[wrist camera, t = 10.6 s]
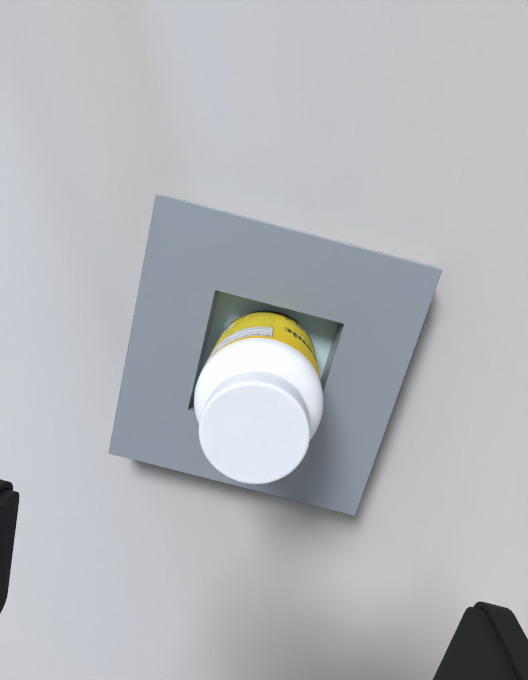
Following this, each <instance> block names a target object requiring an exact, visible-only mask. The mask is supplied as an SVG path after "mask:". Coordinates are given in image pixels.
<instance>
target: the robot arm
mask: <svg viewBox="0 0 528 680" xmlns="http://www.w3.org/2000/svg"><path fill="white" fill-rule="evenodd" d="M18 505H19V493H18V492H16V491H13V485H12V483H11V482H8V481H4V480H0V613H1V611H2V609H3V607H4V604H5V602H6V599H7V594H8V586H9V578H10V569H11V561H12V553H13V545H14V537H15V529H16V521H17V513H18ZM433 680H528V639H527V637H526V635H525V634H524V632H523V630H522V628H521V626H520V624H519V623H518V621H517V619H516V617H515V615H514V614H513V613H512V611H511V610H509V609H508V608H505V607H501V606H497V605H493V604H489V603H485V602H478V603H476V604H475V606H474V607H469V608H467V609H466V611H465V613H464V615H463V617H462V619H461V621H460V623H459V625H458V627H457V630H456V632H455V634H454V636H453V638H452V640H451V642H450V644H449V647H448V649H447V651H446V653H445V655H444V657H443V659H442V661H441V664H440V666H439V668H438V670H437V672H436V674H435V676H434V678H433Z"/></svg>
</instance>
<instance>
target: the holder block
mask: <svg viewBox="0 0 528 680" xmlns="http://www.w3.org/2000/svg"><path fill="white" fill-rule="evenodd" d="M441 272H442V270H441V269H438V268H436V267H433V266H430V265H428V264H424V263H420V262H416V261H413V260H409V259H405V258H401V257H397V256H394V255H390V254H386V253H382V252H378V251H375V250H371V249H367V248H363V247H359V246H356V245H352V244H348V243H344V242H341V241H337V240H333V239H329V238H325V237H322V236H318V235H314V234H310V233H306V232H303V231H299V230H295V229H291V228H287V227H284V226H280V225H276V224H272V223H268V222H265V221H261V220H257V219H253V218H250V217H246V216H242V215H238V214H234V213H231V212H227V211H223V210H219V209H215V208H212V207H208V206H204V205H200V204H196V203H193V202H189V201H185V200H181V199H177V198H174V197H170V196H163V195H156V197H155V203H154V208H153V214H152V219H151V225H150V230H149V235H148V241H147V246H146V252H145V257H144V263H143V268H142V274H141V279H140V284H139V290H138V295H137V301H136V306H135V312H134V317H133V323H132V328H131V334H130V339H129V344H128V350H127V355H126V361H125V366H124V372H123V377H122V383H121V388H120V393H119V399H118V404H117V410H116V415H115V421H114V426H113V432H112V437H111V442H110V448H109V454H113V455H117V456H121V457H125V458H129V459H133V460H137V461H141V462H145V463H148V464H152V465H156V466H160V467H164V468H168V469H172V470H176V471H180V472H184V473H188V474H192V475H196V476H200V477H204V478H208V479H212V480H216V481H220V482H223V483H227V484H231V485H235V486H239V487H243V488H247V489H251V490H255V491H259V492H263V493H267V494H271V495H275V496H279V497H283V498H287V499H291V500H295V501H298V502H302V503H306V504H310V505H314V506H318V507H322V508H326V509H330V510H334V511H338V512H342V513H346V514H350V515H354V516H355V514H356V511H357V508H358V505H359V503H360V500H361V497H362V494H363V491H364V488H365V486H366V483H367V480H368V477H369V474H370V472H371V469H372V466H373V463H374V460H375V458H376V455H377V452H378V449H379V446H380V444H381V441H382V438H383V435H384V432H385V430H386V427H387V424H388V421H389V418H390V416H391V413H392V410H393V407H394V404H395V402H396V399H397V396H398V393H399V390H400V388H401V385H402V382H403V379H404V376H405V373H406V371H407V368H408V365H409V362H410V359H411V357H412V354H413V351H414V348H415V345H416V343H417V340H418V337H419V334H420V331H421V329H422V326H423V323H424V320H425V317H426V315H427V312H428V309H429V306H430V303H431V301H432V298H433V295H434V292H435V289H436V287H437V284H438V281H439V278H440V275H441ZM257 310H274V311H278V312H282V313H284V314H287V315H289V316H291V317H292V318H294V319H295V320H296V321H298V322H299V323H300V324H301V325H302V326H303V327H304V328H305V330H306V331H307V333H308V334H309V336H310V338H311V340H312V343H313V346H314V350H315V354H316V360H317V364H318V370H319V375H320V380H321V384H322V390H323V413H322V417H321V421H320V423H319V426H318V428H317V430H316V432H315V434H314V435H313V437H312V438H311V440H310V441H309V446H308V449H307V452H306V454H305V456H304V458H303V460H302V461H301V462H300V464H299V465H298V466H297V467H296V468H295V469H294V470H293V471H292V472H291V473H289V474H288V475H286V476H285V477H283V478H281V479H279V480H276V481H273V482H269V483H264V484H248V483H242V482H238V481H236V480H233V479H231V478H229V477H227V476H225V475H223V474H222V473H221V472H219V471H218V470H217V469H216V468H215V467H214V466H213V465H212V464H211V463H210V462H209V460H208V459H207V457H206V456H205V454H204V452H203V450H202V447H201V444H200V439H199V423H198V421H197V418H196V414H195V408H194V394H195V388H196V384H197V381H198V378H199V376H200V374H201V371H202V370H203V368H204V366H205V364H206V362H207V360H208V358H209V356H210V355H211V353H212V351H213V349H214V348H215V346H216V344H217V342H218V340H219V338H220V336H221V335H222V333H223V332H224V330H225V329H226V328H227V327H228V326H229V325H230V324H231V323H232V322H233V321H234V320H235V319H237V318H238V317H240V316H242V315H244V314H246V313H249V312H252V311H257Z"/></svg>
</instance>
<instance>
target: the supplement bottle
mask: <svg viewBox="0 0 528 680" xmlns="http://www.w3.org/2000/svg"><path fill="white" fill-rule="evenodd" d="M194 408H195V414H196V418H197V421H198V423H199V439H200V444H201V447H202V450H203V452H204V454H205V456H206V457H207V459H208V460H209V462H210V463H211V464H212V465H213V466H214V467H215V468H216V469H217V470H218V471H219V472H221V473H222V474H223V475H225V476H227V477H229V478H231V479H233V480H236V481H238V482H242V483H248V484H264V483H269V482H273V481H276V480H279V479H281V478H283V477H285V476H286V475H288V474H289V473H291V472H292V471H293V470H294V469H295V468H296V467H297V466H298V465H299V464H300V462H301V461H302V460H303V458H304V456H305V454H306V452H307V449H308V446H309V441H310V440H311V438H312V437H313V435H314V434H315V432H316V430H317V428H318V426H319V423H320V421H321V417H322V413H323V390H322V384H321V380H320V375H319V370H318V364H317V360H316V354H315V350H314V346H313V343H312V340H311V338H310V336H309V334H308V333H307V331H306V330H305V328H304V327H303V326H302V325H301V324H300V323H299V322H298V321H296V320H295V319H294V318H292V317H291V316H289V315H287V314H284V313H282V312H278V311H274V310H257V311H252V312H249V313H246V314H244V315H242V316H240V317H238V318H237V319H235V320H234V321H233V322H232V323H231V324H230V325H229V326H228V327H227V328H226V329H225V330H224V332H223V333H222V335H221V336H220V338H219V340H218V342H217V344H216V346H215V348H214V349H213V351H212V353H211V355H210V356H209V358H208V360H207V362H206V364H205V366H204V368H203V370H202V371H201V374H200V376H199V378H198V381H197V384H196V388H195V394H194Z"/></svg>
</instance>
